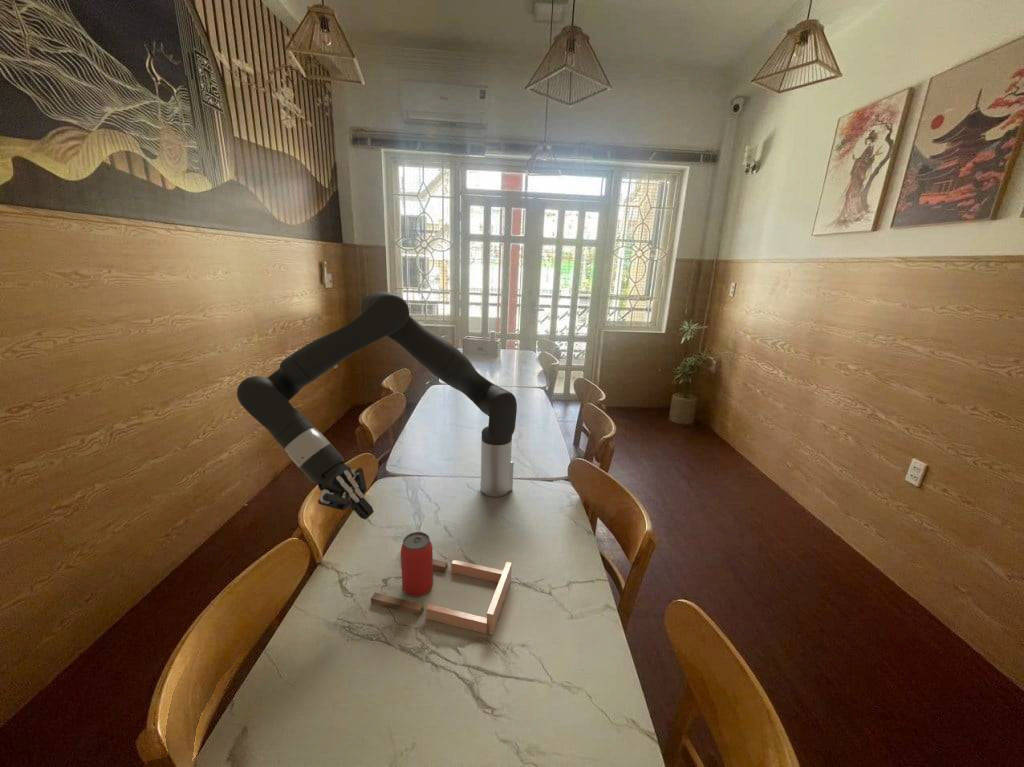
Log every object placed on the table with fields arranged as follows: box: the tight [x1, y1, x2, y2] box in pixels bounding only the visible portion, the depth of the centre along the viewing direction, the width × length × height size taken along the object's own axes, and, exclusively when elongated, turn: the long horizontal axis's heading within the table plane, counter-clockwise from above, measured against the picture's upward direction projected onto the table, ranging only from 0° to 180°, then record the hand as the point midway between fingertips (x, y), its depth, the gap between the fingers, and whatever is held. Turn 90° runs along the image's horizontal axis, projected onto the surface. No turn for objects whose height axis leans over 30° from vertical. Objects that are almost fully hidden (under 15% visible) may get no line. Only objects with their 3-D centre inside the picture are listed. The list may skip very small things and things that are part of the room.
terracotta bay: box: [425, 559, 513, 636], centre depth 86 cm, size 14×14×5 cm
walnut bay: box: [370, 558, 449, 617], centre depth 90 cm, size 11×14×2 cm
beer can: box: [400, 531, 434, 597], centre depth 88 cm, size 7×7×12 cm
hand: (369, 515), depth 87 cm, fingers closed
